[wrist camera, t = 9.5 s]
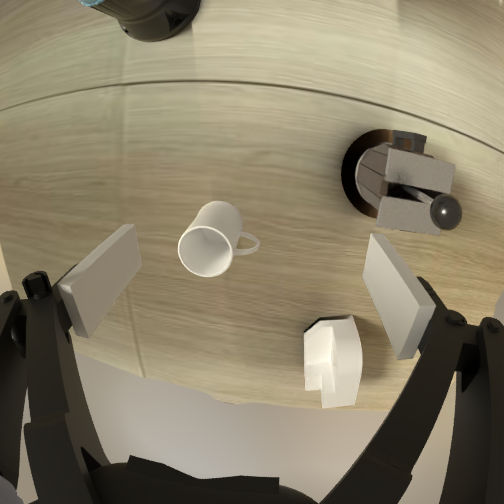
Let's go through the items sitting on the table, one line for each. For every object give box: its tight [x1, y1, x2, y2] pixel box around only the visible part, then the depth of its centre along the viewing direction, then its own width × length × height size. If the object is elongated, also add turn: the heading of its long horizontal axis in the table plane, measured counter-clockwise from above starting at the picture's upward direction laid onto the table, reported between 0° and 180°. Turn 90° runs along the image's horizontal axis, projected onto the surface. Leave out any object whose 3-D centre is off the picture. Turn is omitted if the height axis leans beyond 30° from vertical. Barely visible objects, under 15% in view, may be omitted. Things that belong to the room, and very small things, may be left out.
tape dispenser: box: [304, 314, 362, 408], centre depth 56 cm, size 16×10×13 cm, turn 7°
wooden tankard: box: [354, 130, 455, 236], centre depth 38 cm, size 14×12×13 cm
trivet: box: [341, 129, 412, 219], centre depth 45 cm, size 16×16×1 cm
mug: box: [178, 201, 260, 277], centre depth 46 cm, size 12×8×12 cm
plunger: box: [386, 182, 462, 230], centre depth 34 cm, size 7×7×21 cm
